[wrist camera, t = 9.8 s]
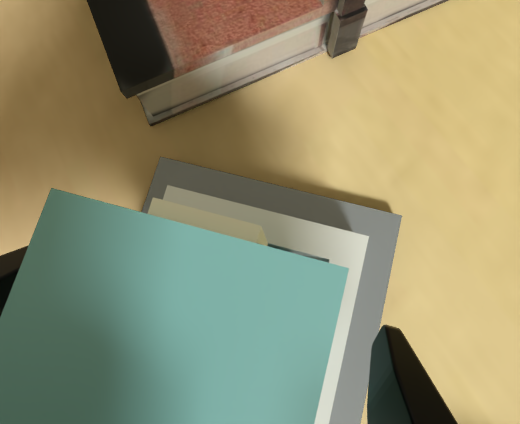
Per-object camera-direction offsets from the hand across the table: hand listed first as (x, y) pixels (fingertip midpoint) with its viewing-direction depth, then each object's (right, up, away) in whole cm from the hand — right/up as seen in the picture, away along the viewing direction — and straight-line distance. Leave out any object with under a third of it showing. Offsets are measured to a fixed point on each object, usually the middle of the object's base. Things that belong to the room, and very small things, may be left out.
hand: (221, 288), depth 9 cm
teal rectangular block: (0, -3, +8) cm, 9 cm away
